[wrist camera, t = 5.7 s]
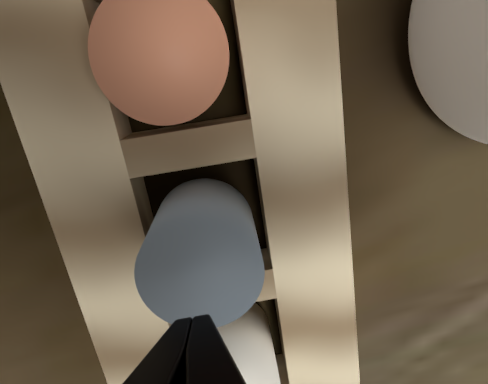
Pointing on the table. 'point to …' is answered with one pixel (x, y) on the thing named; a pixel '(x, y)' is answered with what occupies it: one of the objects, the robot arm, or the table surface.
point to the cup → (452, 61)
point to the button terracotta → (159, 57)
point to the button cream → (252, 346)
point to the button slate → (201, 255)
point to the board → (186, 157)
